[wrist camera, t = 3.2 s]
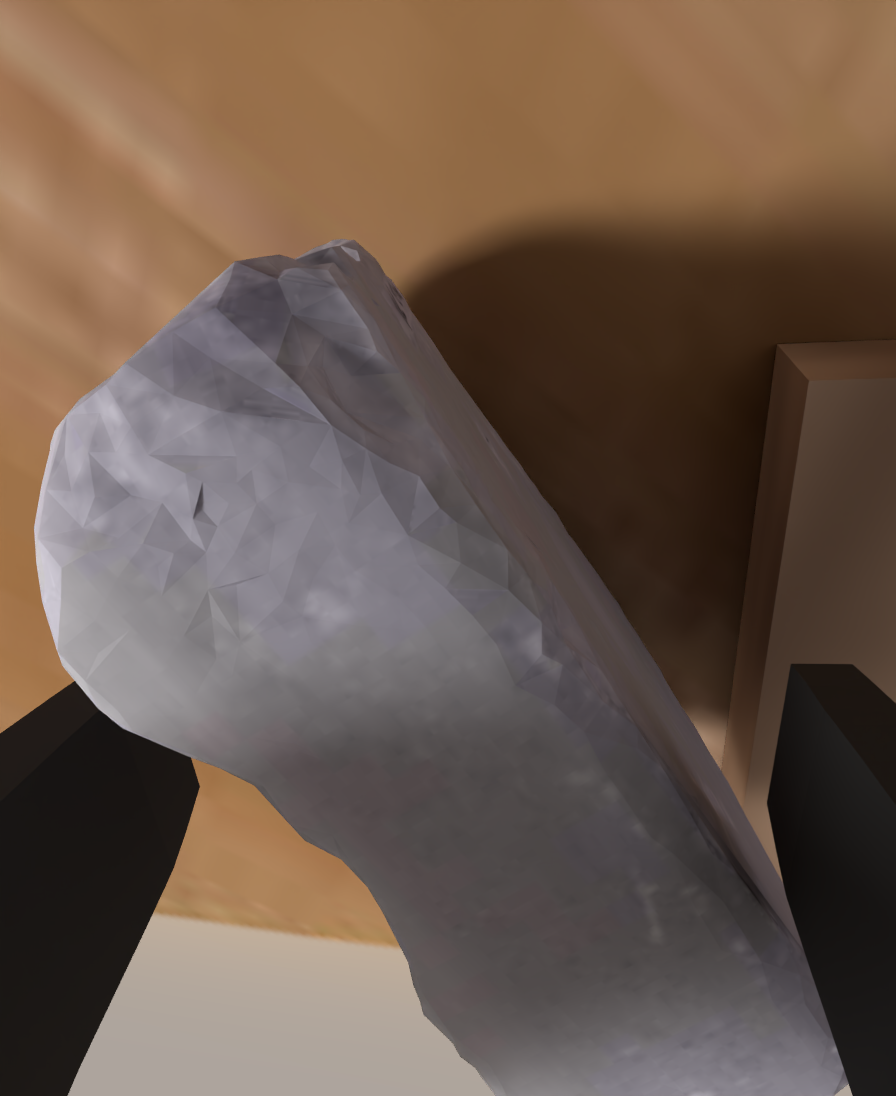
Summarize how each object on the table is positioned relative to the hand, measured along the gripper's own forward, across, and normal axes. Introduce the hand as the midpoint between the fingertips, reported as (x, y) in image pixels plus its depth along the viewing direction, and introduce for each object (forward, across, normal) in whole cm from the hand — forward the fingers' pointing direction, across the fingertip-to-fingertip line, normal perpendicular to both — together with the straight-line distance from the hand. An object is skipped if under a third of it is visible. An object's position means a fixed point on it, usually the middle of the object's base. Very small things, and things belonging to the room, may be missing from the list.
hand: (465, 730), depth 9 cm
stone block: (+8, 0, +1) cm, 8 cm away
